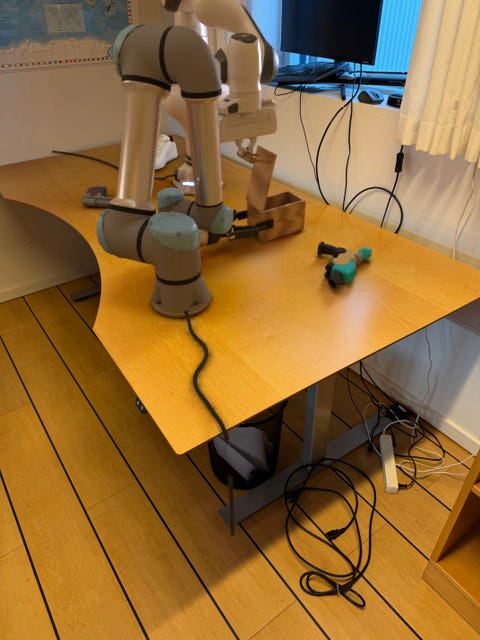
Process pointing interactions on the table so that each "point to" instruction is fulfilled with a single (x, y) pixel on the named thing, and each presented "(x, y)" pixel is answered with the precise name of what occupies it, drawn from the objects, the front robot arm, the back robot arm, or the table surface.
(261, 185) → the lid
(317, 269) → the table surface
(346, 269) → the toy gun
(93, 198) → the toy gun
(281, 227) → the chest
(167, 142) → the sneaker
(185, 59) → the front robot arm
